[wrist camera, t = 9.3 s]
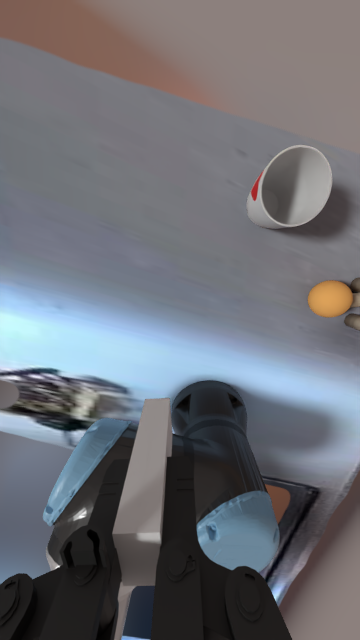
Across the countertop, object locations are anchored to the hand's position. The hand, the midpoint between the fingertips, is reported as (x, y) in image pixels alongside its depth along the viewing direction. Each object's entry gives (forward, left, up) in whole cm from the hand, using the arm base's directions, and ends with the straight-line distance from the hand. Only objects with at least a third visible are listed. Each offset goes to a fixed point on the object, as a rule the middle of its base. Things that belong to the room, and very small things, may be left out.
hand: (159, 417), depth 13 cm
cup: (+16, -15, -27) cm, 35 cm away
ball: (+2, -26, -23) cm, 35 cm away
